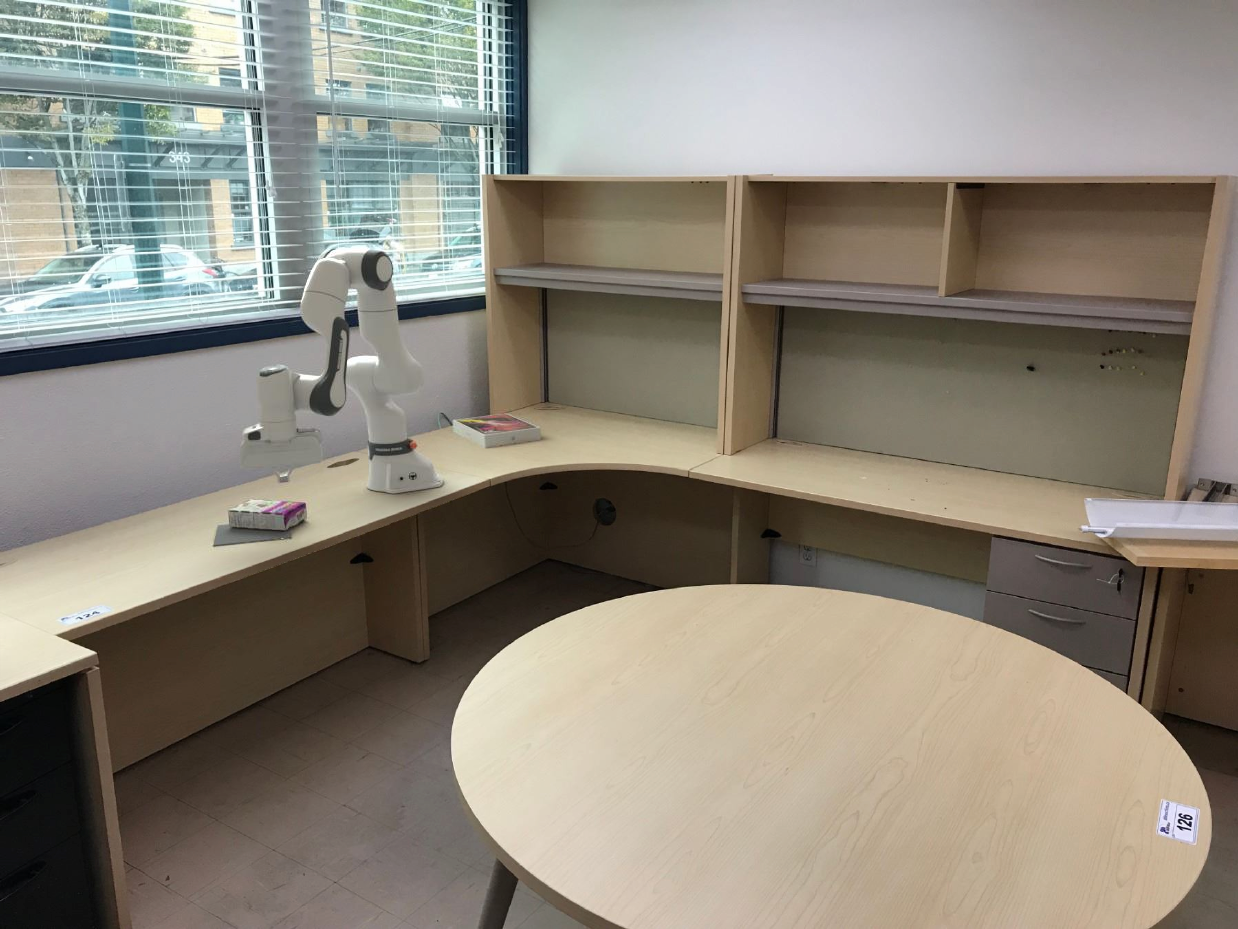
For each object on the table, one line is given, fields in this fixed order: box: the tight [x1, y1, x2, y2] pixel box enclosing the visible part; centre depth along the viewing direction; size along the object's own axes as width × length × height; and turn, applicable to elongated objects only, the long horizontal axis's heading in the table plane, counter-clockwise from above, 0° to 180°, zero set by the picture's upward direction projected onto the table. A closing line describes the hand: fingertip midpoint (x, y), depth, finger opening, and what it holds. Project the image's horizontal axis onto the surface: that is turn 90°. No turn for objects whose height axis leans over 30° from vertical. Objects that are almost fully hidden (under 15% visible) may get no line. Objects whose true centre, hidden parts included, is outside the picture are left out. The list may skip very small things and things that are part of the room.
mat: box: [212, 523, 292, 547], centre depth 252 cm, size 18×16×1 cm
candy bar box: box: [227, 498, 308, 531], centre depth 257 cm, size 11×5×16 cm
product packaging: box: [452, 412, 542, 449], centre depth 352 cm, size 22×28×5 cm
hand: (283, 482), depth 251 cm, fingers closed
